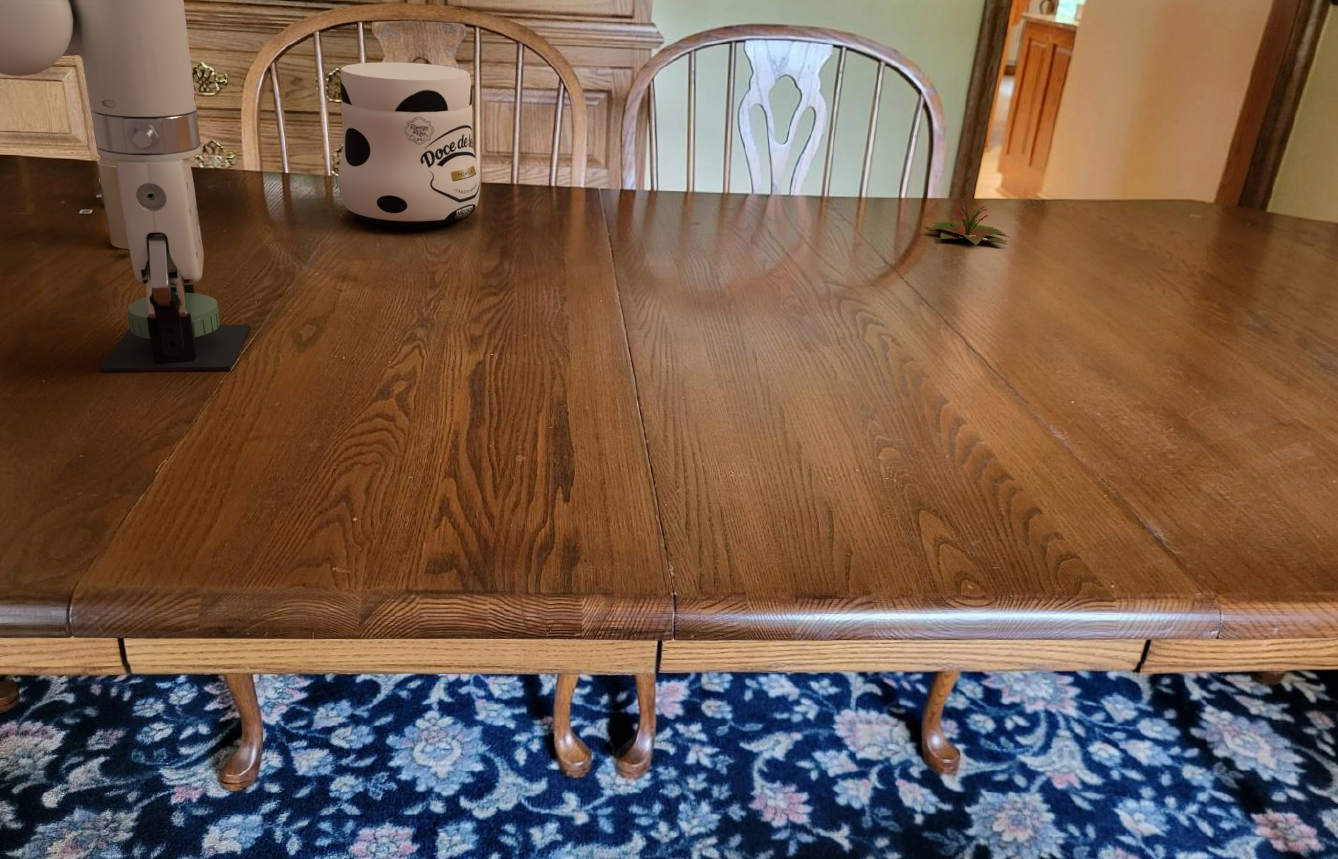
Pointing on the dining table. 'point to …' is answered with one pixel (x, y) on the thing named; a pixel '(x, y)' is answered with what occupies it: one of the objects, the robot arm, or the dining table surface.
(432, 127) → the milk container
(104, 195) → the honey jar
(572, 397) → the dining table surface
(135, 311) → the honey lid
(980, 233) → the lily flower
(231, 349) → the coaster
